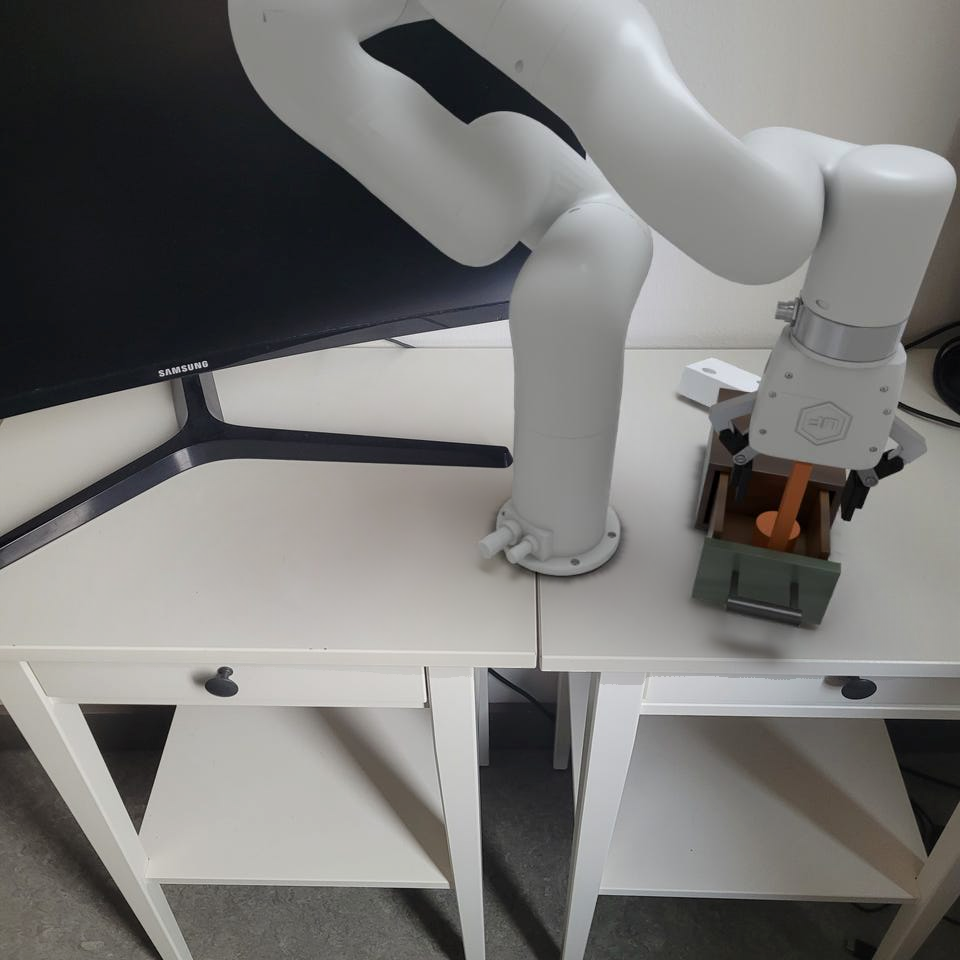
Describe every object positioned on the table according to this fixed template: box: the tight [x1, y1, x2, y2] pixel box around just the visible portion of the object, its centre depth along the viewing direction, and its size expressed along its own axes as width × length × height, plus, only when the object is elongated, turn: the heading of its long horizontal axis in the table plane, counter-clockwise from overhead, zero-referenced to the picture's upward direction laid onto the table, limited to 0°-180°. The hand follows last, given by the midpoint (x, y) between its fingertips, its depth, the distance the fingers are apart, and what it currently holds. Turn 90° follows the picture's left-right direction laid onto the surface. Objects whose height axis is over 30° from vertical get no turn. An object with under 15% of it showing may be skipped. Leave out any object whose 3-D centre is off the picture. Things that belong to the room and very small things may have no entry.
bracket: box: [676, 357, 762, 408], centre depth 99 cm, size 13×7×8 cm, turn 46°
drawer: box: [690, 471, 842, 629], centre depth 75 cm, size 17×11×7 cm, turn 163°
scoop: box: [750, 460, 813, 554], centre depth 74 cm, size 5×4×13 cm
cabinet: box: [694, 388, 847, 532], centre depth 85 cm, size 14×13×9 cm
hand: (791, 500), depth 72 cm, fingers open, 8 cm apart
